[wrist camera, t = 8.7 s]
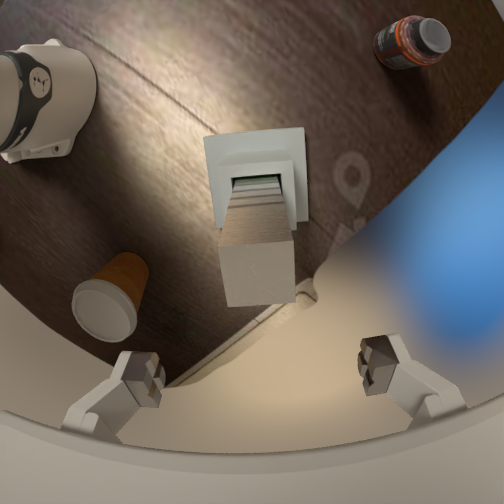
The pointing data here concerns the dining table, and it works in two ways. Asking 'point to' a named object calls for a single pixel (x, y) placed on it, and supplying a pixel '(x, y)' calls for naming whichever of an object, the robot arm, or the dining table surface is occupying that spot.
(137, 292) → the disposable coffee cup
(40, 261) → the dining table surface
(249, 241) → the column
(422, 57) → the supplement bottle
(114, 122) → the dining table surface
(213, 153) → the stand base
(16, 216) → the dining table surface
